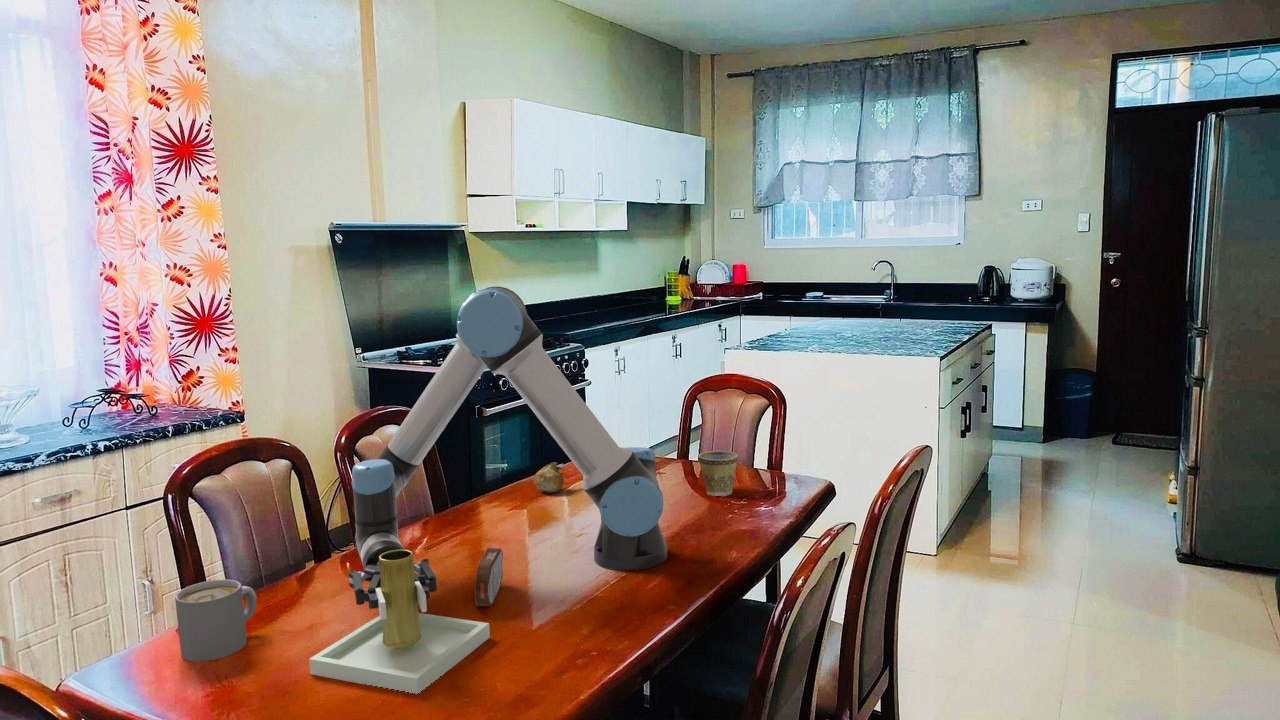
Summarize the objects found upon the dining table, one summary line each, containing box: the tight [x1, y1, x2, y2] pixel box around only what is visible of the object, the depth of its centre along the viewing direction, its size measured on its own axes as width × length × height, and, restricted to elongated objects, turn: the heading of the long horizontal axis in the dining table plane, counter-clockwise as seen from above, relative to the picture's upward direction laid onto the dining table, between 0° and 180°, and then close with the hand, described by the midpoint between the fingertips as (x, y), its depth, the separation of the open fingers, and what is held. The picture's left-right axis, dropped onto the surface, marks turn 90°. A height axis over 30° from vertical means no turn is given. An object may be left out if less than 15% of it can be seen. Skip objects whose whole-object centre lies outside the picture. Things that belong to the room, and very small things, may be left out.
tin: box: [474, 547, 504, 607], centre depth 166 cm, size 15×3×8 cm, turn 178°
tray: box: [308, 612, 491, 695], centre depth 144 cm, size 20×20×2 cm
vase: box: [379, 548, 421, 648], centre depth 143 cm, size 6×6×14 cm
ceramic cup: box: [698, 450, 738, 497], centre depth 231 cm, size 13×10×10 cm
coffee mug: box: [174, 578, 258, 663], centre depth 150 cm, size 13×10×10 cm
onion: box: [533, 461, 565, 494], centre depth 236 cm, size 8×8×8 cm
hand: (403, 607), depth 138 cm, fingers closed on vase, 5 cm apart
